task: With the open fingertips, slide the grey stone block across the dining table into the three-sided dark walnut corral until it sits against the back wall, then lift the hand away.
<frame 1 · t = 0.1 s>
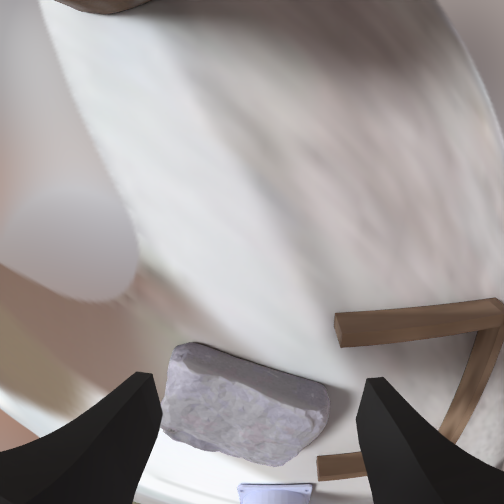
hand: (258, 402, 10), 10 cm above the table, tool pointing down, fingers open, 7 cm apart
walnut corral: (384, 398, 22), on the table
stone block: (237, 401, 23), on the table
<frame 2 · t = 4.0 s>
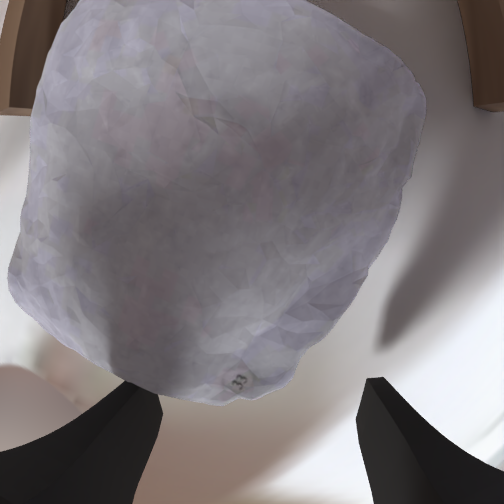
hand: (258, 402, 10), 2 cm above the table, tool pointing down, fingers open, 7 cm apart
stone block: (214, 191, 10), on the table, touching gripper
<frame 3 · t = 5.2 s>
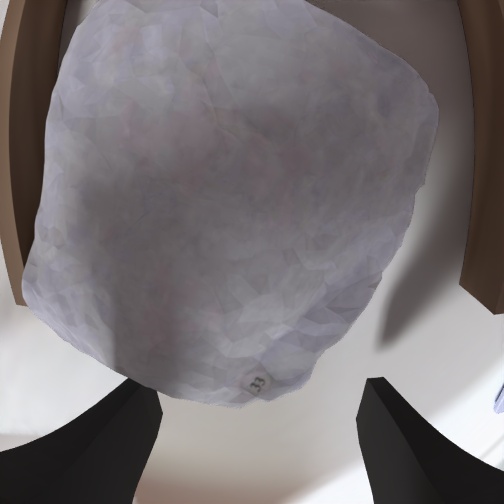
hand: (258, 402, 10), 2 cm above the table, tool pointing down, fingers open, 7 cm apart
walnut corral: (260, 130, 9), on the table
stone block: (230, 196, 10), on the table
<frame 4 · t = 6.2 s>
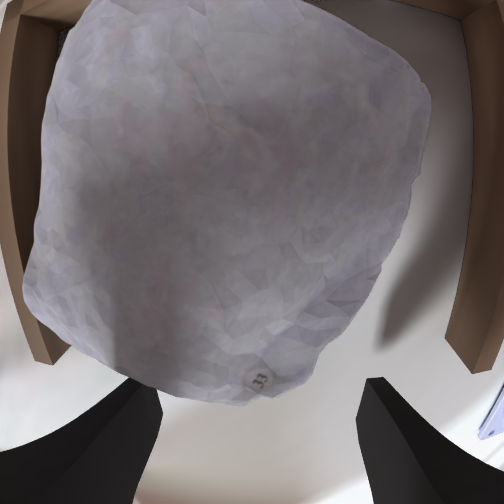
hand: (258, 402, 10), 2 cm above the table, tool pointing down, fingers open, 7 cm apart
walnut corral: (259, 209, 10), on the table
stone block: (227, 194, 10), on the table
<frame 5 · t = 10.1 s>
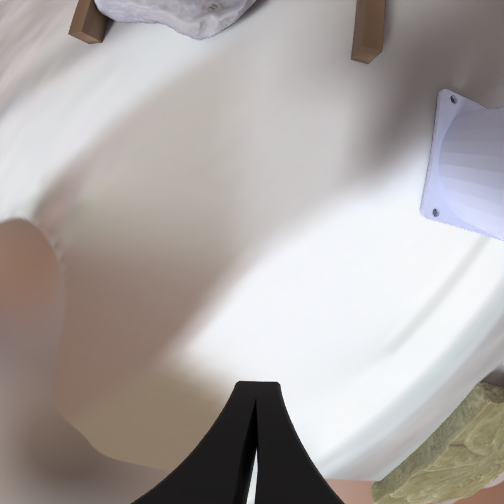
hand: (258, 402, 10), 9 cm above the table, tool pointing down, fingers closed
decorative tile: (472, 443, 24), on the table
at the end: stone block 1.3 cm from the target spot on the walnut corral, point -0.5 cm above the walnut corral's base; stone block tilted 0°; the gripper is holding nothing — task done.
